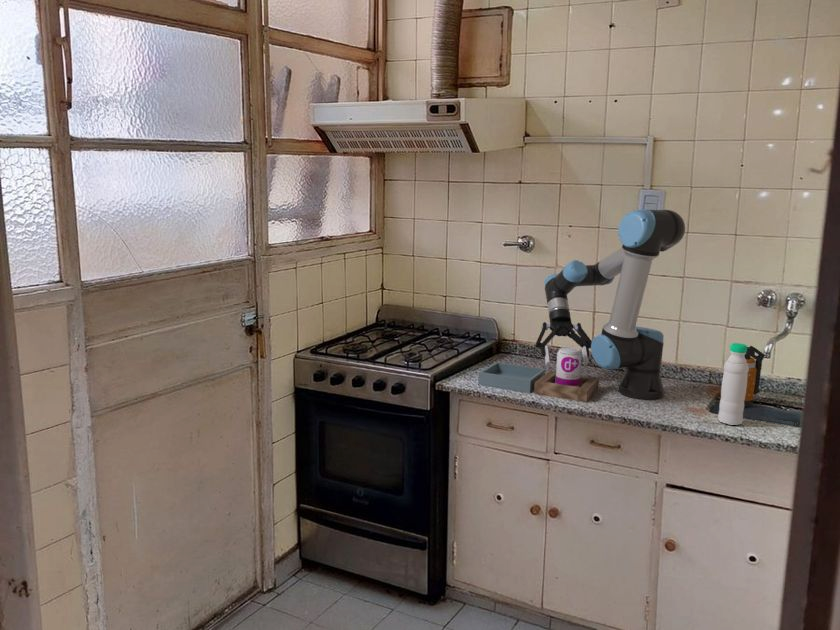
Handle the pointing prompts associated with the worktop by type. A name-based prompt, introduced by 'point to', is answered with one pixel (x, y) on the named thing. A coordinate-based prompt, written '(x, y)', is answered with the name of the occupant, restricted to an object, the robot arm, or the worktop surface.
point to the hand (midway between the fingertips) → (567, 364)
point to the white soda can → (568, 366)
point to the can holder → (566, 388)
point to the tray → (510, 377)
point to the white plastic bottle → (734, 386)
